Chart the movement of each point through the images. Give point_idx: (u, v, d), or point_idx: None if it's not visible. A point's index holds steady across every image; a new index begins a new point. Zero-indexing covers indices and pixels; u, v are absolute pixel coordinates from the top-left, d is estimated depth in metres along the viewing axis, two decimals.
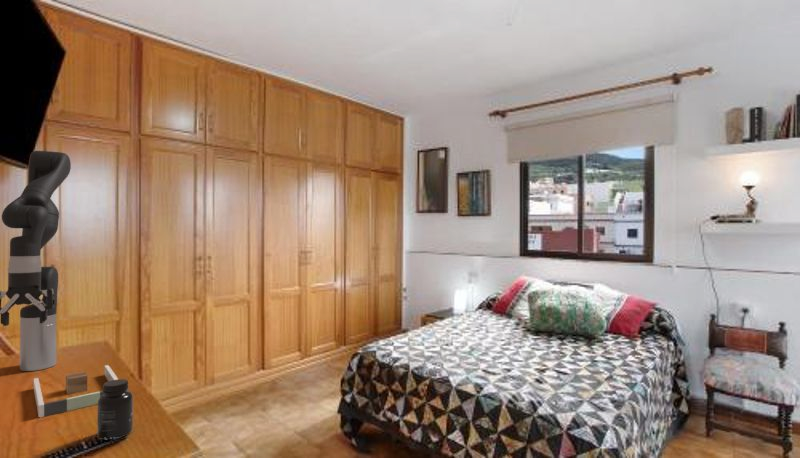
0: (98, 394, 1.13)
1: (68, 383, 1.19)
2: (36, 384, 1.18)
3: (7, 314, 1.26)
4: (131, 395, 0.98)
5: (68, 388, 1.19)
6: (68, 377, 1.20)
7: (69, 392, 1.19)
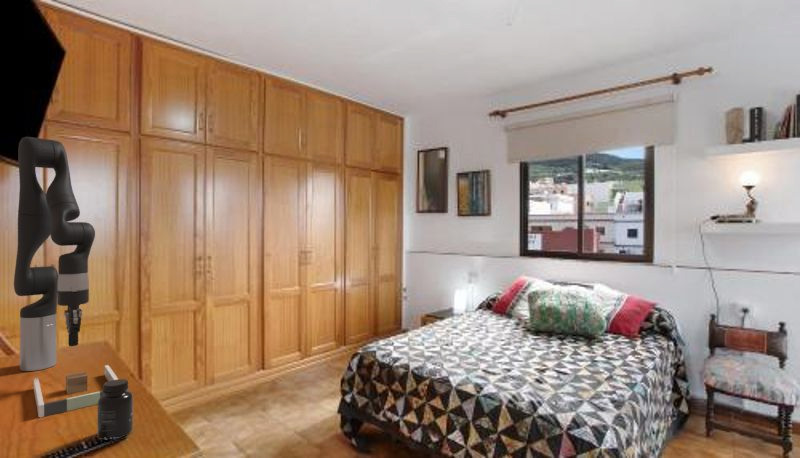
0: (98, 394, 1.13)
1: (68, 383, 1.19)
2: (36, 384, 1.18)
3: None
4: (131, 395, 0.98)
5: (68, 388, 1.19)
6: (68, 377, 1.20)
7: (69, 392, 1.19)
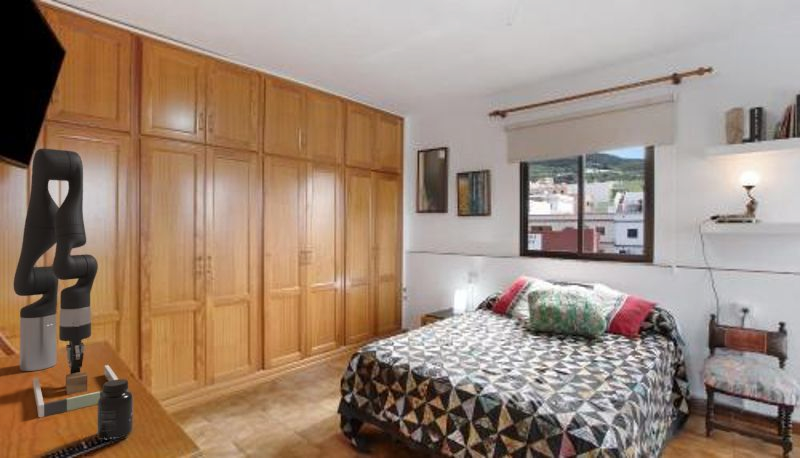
0: (98, 394, 1.13)
1: (68, 383, 1.19)
2: (36, 384, 1.18)
3: None
4: (131, 395, 0.98)
5: (68, 388, 1.19)
6: (68, 377, 1.20)
7: (69, 392, 1.19)
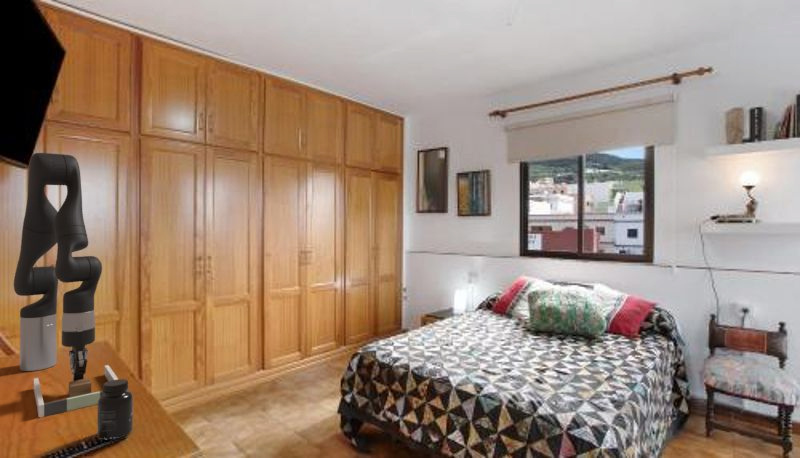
0: (98, 394, 1.13)
1: (71, 391, 1.13)
2: (36, 384, 1.18)
3: None
4: (131, 395, 0.98)
5: (71, 396, 1.13)
6: (71, 384, 1.14)
7: None
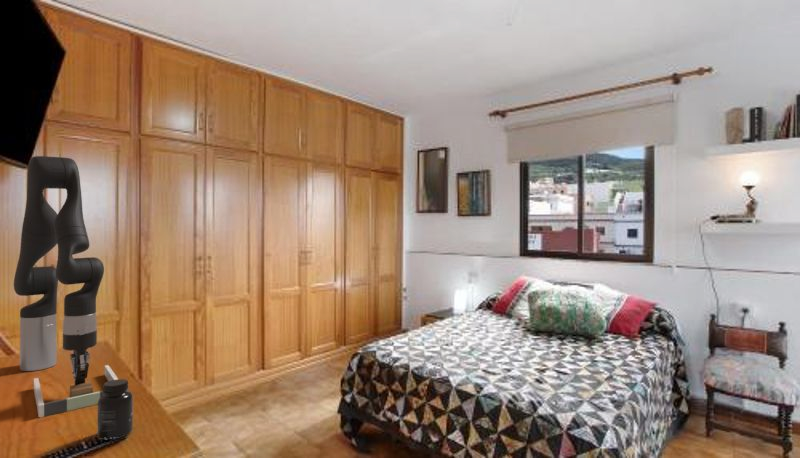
0: (98, 394, 1.13)
1: (72, 395, 1.10)
2: (36, 384, 1.18)
3: None
4: (131, 395, 0.98)
5: None
6: (72, 389, 1.11)
7: None
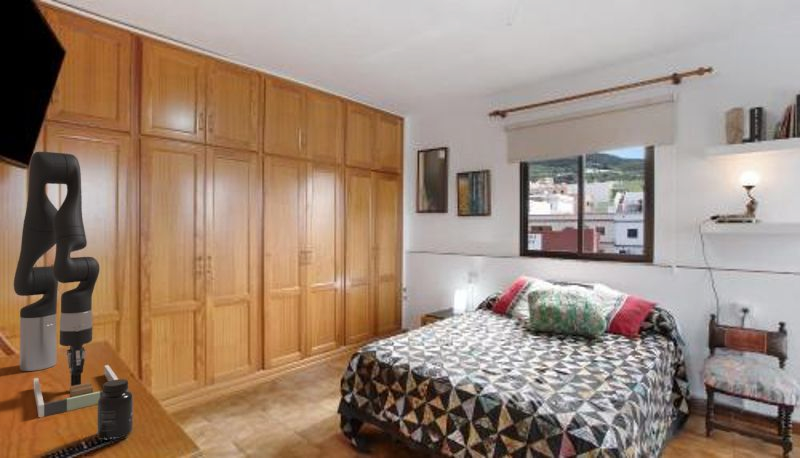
0: (98, 394, 1.13)
1: (72, 396, 1.10)
2: (36, 384, 1.18)
3: None
4: (131, 395, 0.98)
5: None
6: (72, 389, 1.11)
7: None
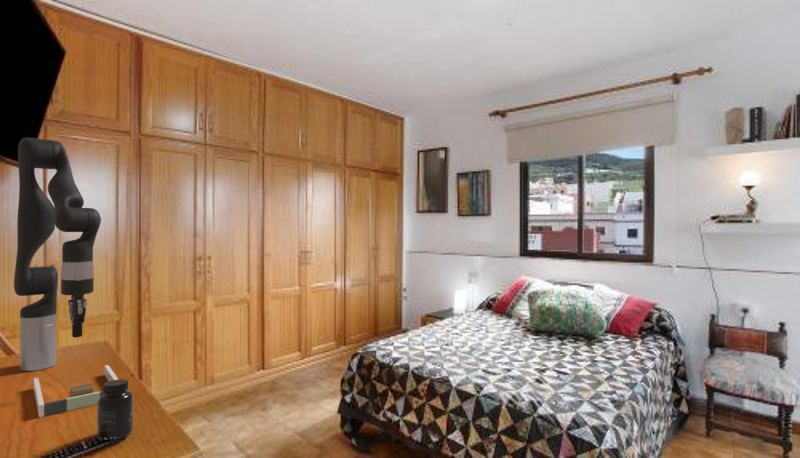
0: (98, 394, 1.13)
1: (72, 396, 1.10)
2: (36, 384, 1.18)
3: None
4: (131, 395, 0.98)
5: None
6: (72, 389, 1.11)
7: None
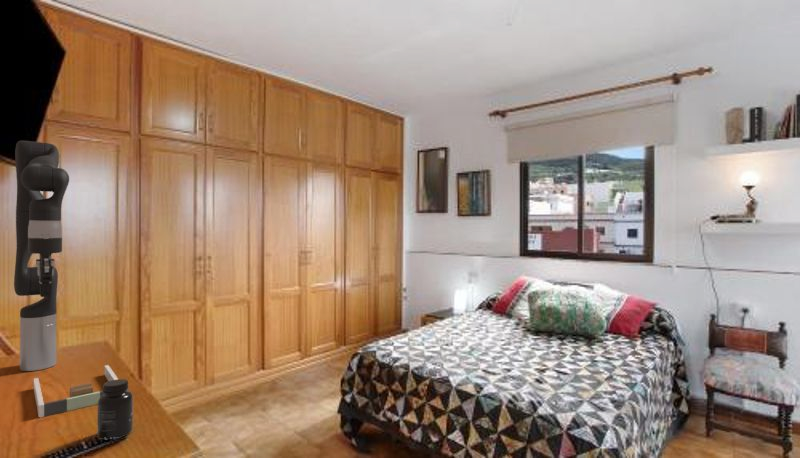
0: (98, 394, 1.13)
1: (72, 396, 1.10)
2: (36, 384, 1.18)
3: None
4: (131, 395, 0.98)
5: None
6: (72, 389, 1.11)
7: None
